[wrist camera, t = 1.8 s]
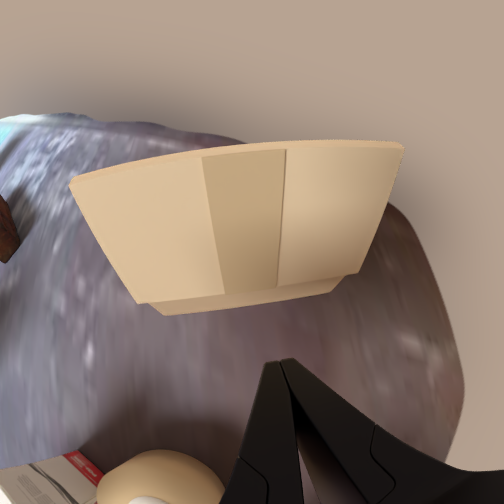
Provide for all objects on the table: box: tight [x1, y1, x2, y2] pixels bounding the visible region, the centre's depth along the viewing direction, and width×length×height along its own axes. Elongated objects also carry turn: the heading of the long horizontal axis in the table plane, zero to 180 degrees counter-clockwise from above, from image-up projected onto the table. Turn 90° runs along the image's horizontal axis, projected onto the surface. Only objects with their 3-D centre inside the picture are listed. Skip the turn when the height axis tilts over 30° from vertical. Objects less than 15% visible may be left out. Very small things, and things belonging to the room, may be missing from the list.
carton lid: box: [69, 140, 405, 304], centre depth 13 cm, size 9×14×1 cm
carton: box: [149, 275, 345, 316], centre depth 21 cm, size 9×14×6 cm, turn 99°
